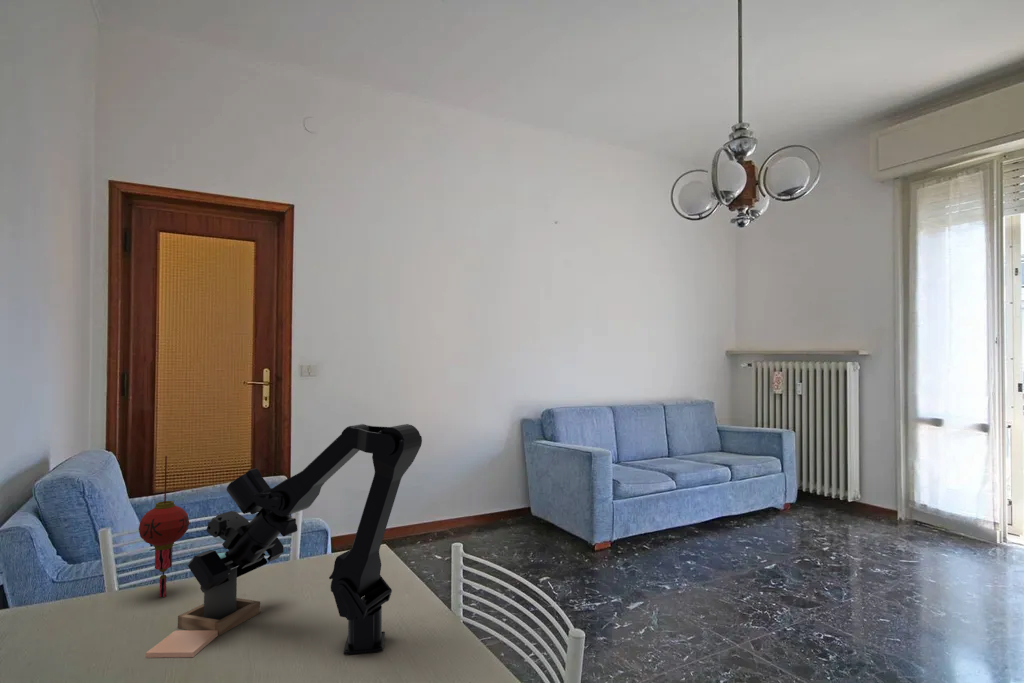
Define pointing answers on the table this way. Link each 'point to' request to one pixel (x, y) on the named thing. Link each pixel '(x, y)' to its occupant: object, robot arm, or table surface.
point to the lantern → (163, 532)
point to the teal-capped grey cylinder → (221, 597)
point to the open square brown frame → (198, 622)
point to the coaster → (182, 644)
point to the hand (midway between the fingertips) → (215, 584)
